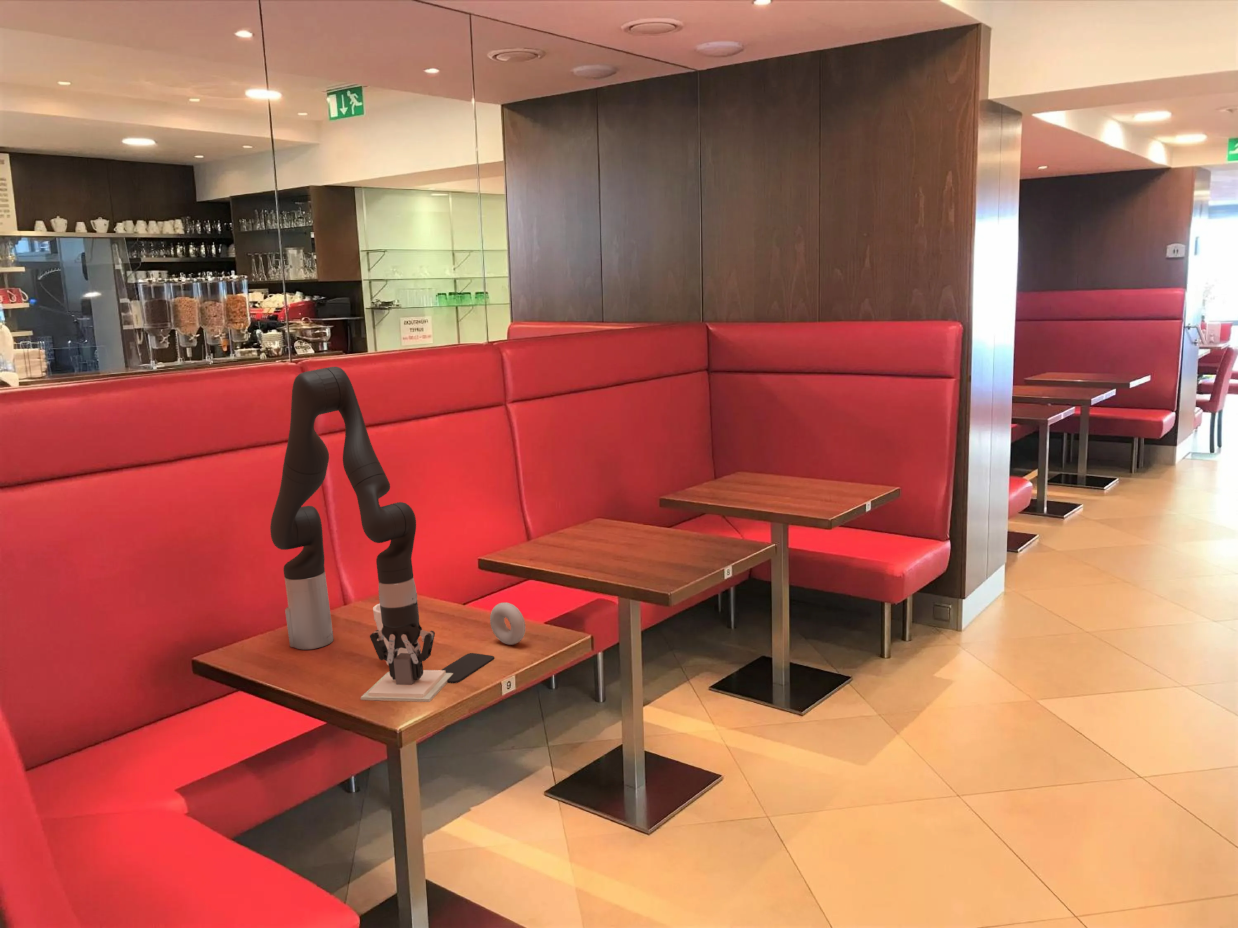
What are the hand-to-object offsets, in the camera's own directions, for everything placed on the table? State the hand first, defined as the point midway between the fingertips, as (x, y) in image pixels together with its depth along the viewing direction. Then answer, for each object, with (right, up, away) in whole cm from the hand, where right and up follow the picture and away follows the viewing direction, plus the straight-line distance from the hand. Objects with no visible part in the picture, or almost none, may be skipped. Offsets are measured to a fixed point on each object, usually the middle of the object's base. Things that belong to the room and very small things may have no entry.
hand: (407, 678), depth 202 cm
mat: (0, -2, 0) cm, 2 cm away
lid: (0, -1, 0) cm, 1 cm away
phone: (+10, 0, +9) cm, 14 cm away
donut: (+19, +3, +22) cm, 29 cm away
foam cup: (-5, 0, +16) cm, 16 cm away
